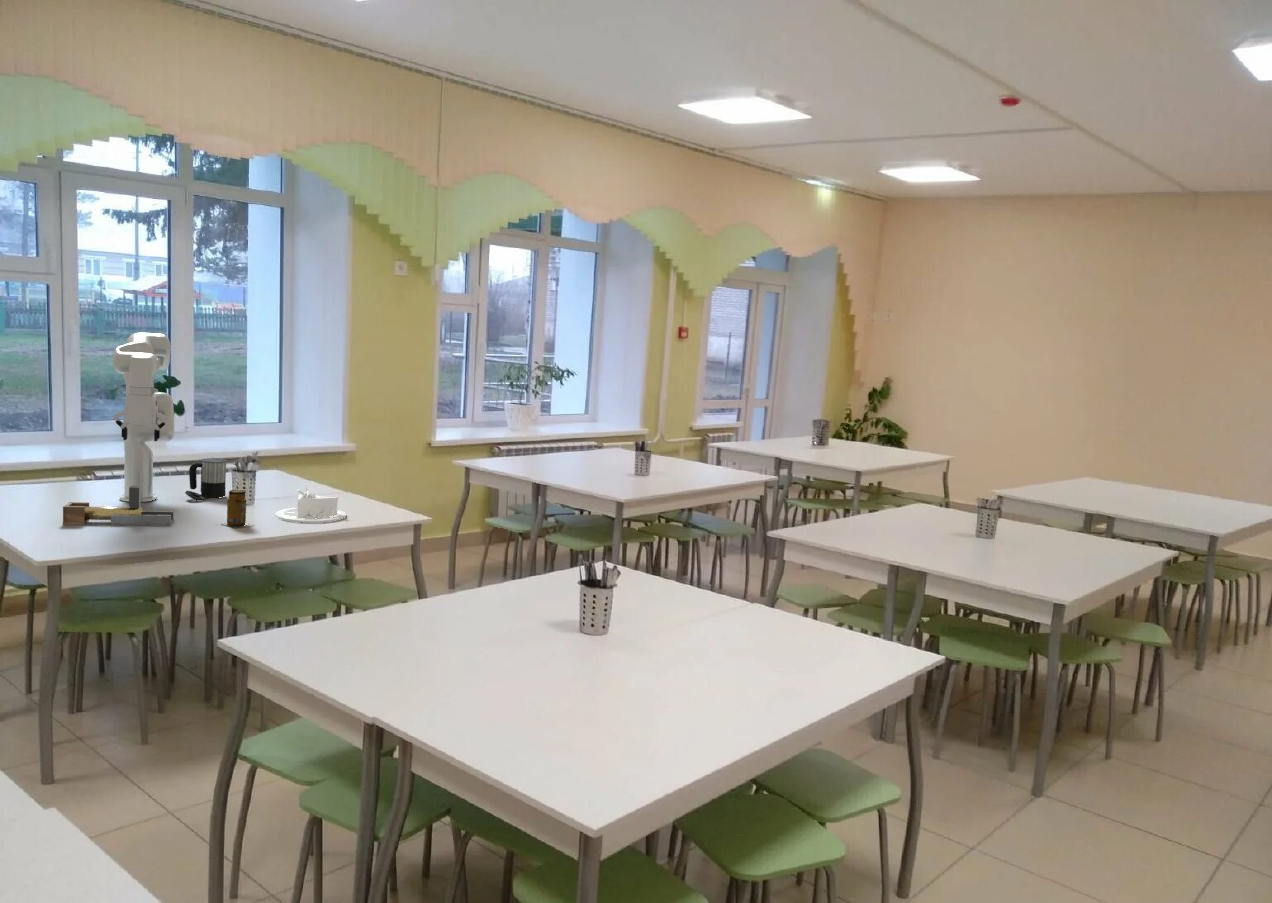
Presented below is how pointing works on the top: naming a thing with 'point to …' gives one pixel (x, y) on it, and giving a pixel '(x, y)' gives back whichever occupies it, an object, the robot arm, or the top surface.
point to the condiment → (236, 509)
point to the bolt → (106, 512)
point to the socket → (74, 513)
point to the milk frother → (208, 478)
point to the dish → (312, 509)
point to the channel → (144, 518)
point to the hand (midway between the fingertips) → (140, 440)
